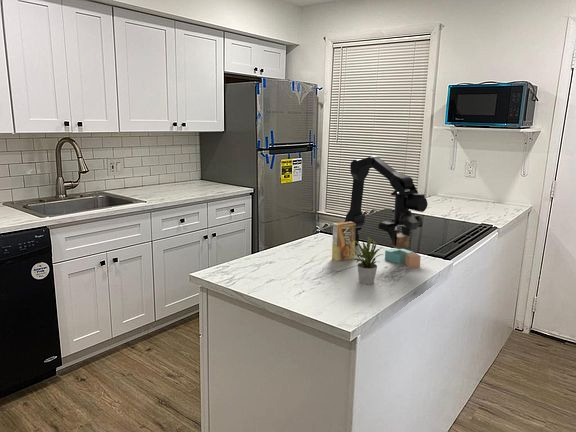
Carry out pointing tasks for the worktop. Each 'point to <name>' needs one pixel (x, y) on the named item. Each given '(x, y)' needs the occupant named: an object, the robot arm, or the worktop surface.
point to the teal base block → (396, 255)
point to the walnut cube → (401, 241)
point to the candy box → (343, 240)
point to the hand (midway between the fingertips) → (399, 244)
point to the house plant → (366, 262)
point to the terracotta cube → (412, 259)
